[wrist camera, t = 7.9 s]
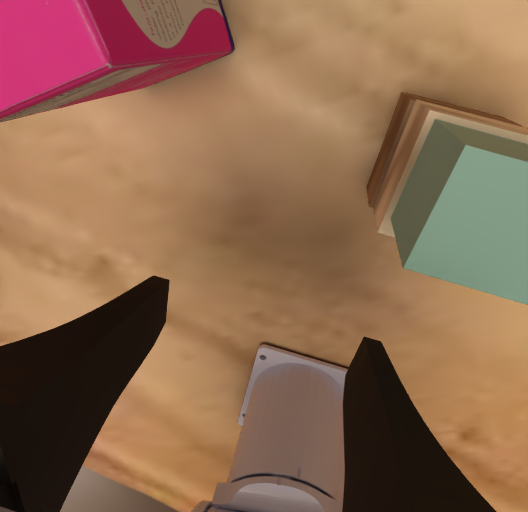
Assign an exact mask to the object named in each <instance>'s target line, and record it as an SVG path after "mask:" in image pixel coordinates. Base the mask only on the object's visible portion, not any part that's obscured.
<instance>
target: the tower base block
mask: <svg viewBox="0 0 528 512" xmlns="http://www.w3.org/2000/svg"><path fill="white" fill-rule="evenodd" d="M416 99H417V100H421V101H425V102H429V103H432V104H436V105H440V106H444V107H448V108H452V109H456V110H459V111H463V112H467V113H471V114H475V115H479V116H483V117H486V118H490V119H494V120H498V121H502V122H506V123H510V124H513V125H517V126H521V125H519V124H517V123H515V122H513V121H510V120H508V119H506V118H504V117H500V116H496V115H492V114H488V113H484V112H480V111H476V110H472V109H468V108H464V107H460V106H456V105H452V104H448V103H444V102H440V101H436V100H432V99H428V98H424V97H420V96H416V95H412V94H408V93H404V92H402V93H401V96H400V99H399V101H398V104H397V107H396V109H395V112H394V115H393V117H392V120H391V123H390V125H389V128H388V131H387V134H386V136H385V139H384V142H383V144H382V147H381V150H380V152H379V155H378V158H377V161H376V163H375V166H374V169H373V171H372V174H371V177H370V179H369V182H368V185H367V194H368V202H369V207H373V206H374V203H375V201H376V198H377V196H378V193H379V191H380V188H381V186H382V183H383V181H384V178H385V176H386V173H387V171H388V168H389V166H390V163H391V161H392V158H393V156H394V153H395V151H396V148H397V146H398V144H399V141H400V139H401V136H402V134H403V131H404V129H405V126H406V124H407V121H408V119H409V116H410V114H411V111H412V109H413V106H414V104H415V101H416ZM521 127H523V126H521Z"/></svg>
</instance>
